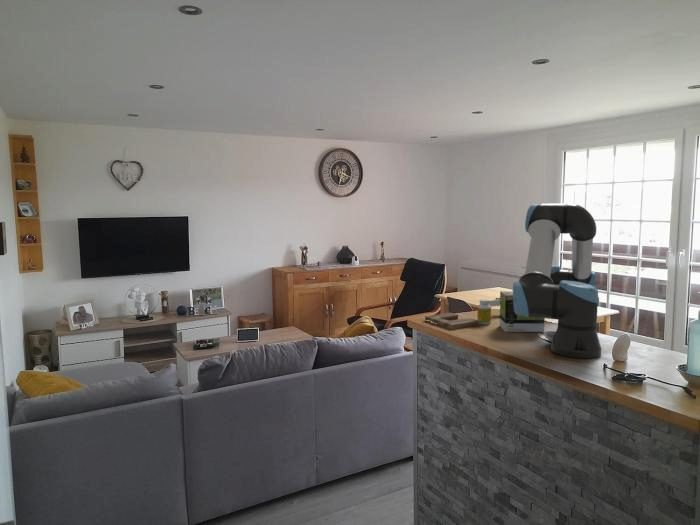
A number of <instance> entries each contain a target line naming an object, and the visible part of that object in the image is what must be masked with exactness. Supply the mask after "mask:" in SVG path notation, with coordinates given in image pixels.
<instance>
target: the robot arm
mask: <svg viewBox="0 0 700 525" xmlns="http://www.w3.org/2000/svg"><path fill="white" fill-rule="evenodd" d="M524 222H525V223H524V229H525V232H527V233H528V234H529V236H530V242H529V248H528V254H527V260H526V266H525V271H524V274H522V275H521V276H520V278H519V280H518V281H514V282H513V284H512V291H513V305H514V312H515V313H516V314H517V315H519V316H526V317H536V318H545V319H548V320H557V328H556V331H555V334H554V335H553V337H552V341H551V346H550V347H551V348H550V349H551V351H552V352H553V353H554V354H557V355H560V356H563V357H568V358H574V359H586V360H587V359H588V360H589V359H596V358H600V357H601V355H602V347H601V343H600V339H599V336H598V332H597V328H598V327H597V324H598V304H599V303H600V301H599V291H598V289H597V287H596V281H597V273H596V272H595V271H592V267H593V265H592V263H593V244H594V243H593V242H594V238H595V237H596V234H597V223H596V220H595V219H594V217H593V216H592V214H591V213H590V212H589V211H588V210H587V209H586V208H584V207H583V206H581V205H579V204H577V203H571V202H570V203H546V202H545V203H543V202H541V203H533V204H531V205H530V206H528V208H527V211H526V217H525V220H524ZM561 234H563V235H564V234H569V236H570V238H571V270H570V269H569V270H567V269H566V270H565V269H561V266H560V265H557V264H555V265H554V264H553V259H554V253H555V245H556V240H558V239H559V237H560V236H561ZM489 300H490V304H489V305H490V306H491V308H492V307H500V297H495V299H489Z"/></svg>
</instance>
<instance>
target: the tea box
mask: <svg viewBox="0 0 700 525" xmlns="http://www.w3.org/2000/svg"><path fill="white" fill-rule="evenodd" d="M499 298H500V306H499V326H500V328H501V329H502V330H503V331H504V332H506V333H508V332H509V333H513V332H514V333H545V323H546V322H545V321H546V320H545V319H546V318H536V317H526V316H519V315H517V314H516V313H515V312H514V305H513V290H510V291H509V290H508V291H507V290H506V291H505V290H502V291H501V290H500V293H499Z"/></svg>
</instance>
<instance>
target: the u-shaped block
mask: <svg viewBox="0 0 700 525" xmlns="http://www.w3.org/2000/svg"><path fill="white" fill-rule="evenodd" d="M437 316H439V317H437ZM425 320H430V321H432V322H434V323H437V324H439V325H441V326H440V327H442V326H443V327H442V328H445V329H449V330H451V331H452V330H453V331H454V330H459V329H460V330H461V329H464V328H471V327H476V326H479V325H480V324H479V321H478V320H477V319H474V318H471V317H466V318H465V317H464V318H459V314H456V313H453V312H447V313H439V314H432V315H426V316H424V321H425ZM439 325H438V326H439Z"/></svg>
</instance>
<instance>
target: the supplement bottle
mask: <svg viewBox="0 0 700 525" xmlns="http://www.w3.org/2000/svg"><path fill="white" fill-rule="evenodd" d="M490 300H491V299H486V298H485V299H484V298H482V299H481V298H480V299H479V304H478V305H477V319H476V320H478V321H479V325H490V324H491V322H492V307H491V306H490V305H489V304H490Z"/></svg>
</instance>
